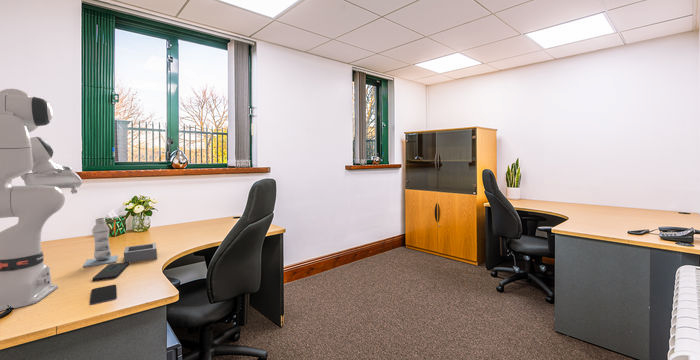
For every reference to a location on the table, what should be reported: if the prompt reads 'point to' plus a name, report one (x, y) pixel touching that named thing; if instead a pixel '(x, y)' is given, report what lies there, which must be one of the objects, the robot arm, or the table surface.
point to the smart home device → (111, 271)
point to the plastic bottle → (101, 240)
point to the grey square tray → (140, 253)
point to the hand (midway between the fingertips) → (63, 193)
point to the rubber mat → (100, 261)
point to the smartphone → (103, 294)
